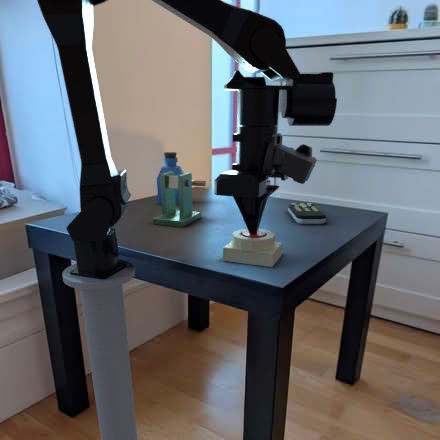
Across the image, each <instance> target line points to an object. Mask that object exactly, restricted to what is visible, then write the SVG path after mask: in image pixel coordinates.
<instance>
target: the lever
mask: <svg viewBox="0 0 440 440" xmlns="http://www.w3.org/2000/svg"><path fill="white" fill-rule="evenodd" d="M206 186H207V181H206V180H200V179H199V180H197V179H192V187H206ZM169 188H175V189H179V187H178V176H169Z"/></svg>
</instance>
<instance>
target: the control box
mask: <svg viewBox="0 0 440 440" xmlns="http://www.w3.org/2000/svg"><path fill="white" fill-rule="evenodd" d="M244 231H248V229H247V228H242V229H237V230H235V231H234V232H232V234H231V241H229V242H228V243H227V244H226V245H224V246H223V247H222V261H223V262H229V263H237V264H245V265H251V266H260V267H266V268H273V267H274V266H275V265H276V264H277V262H278V261H279V260H280V258H281V257H282V254H283V253H282V252H283V242H279V241H276V234H275V233H274V232H273V231H272V230H268V229H265V228H264V229H263V228H259V229H258V231H262V232H264V233H265V237H261V238H249V237H244V236H242V233H243V232H244Z"/></svg>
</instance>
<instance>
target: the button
mask: <svg viewBox="0 0 440 440" xmlns="http://www.w3.org/2000/svg"><path fill="white" fill-rule="evenodd" d="M242 236H244V237H249V238H261V237H265V233H264V232H262V231H258V232H257V233H256V234H250V233H249V231H244V232H243V233H242Z"/></svg>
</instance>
